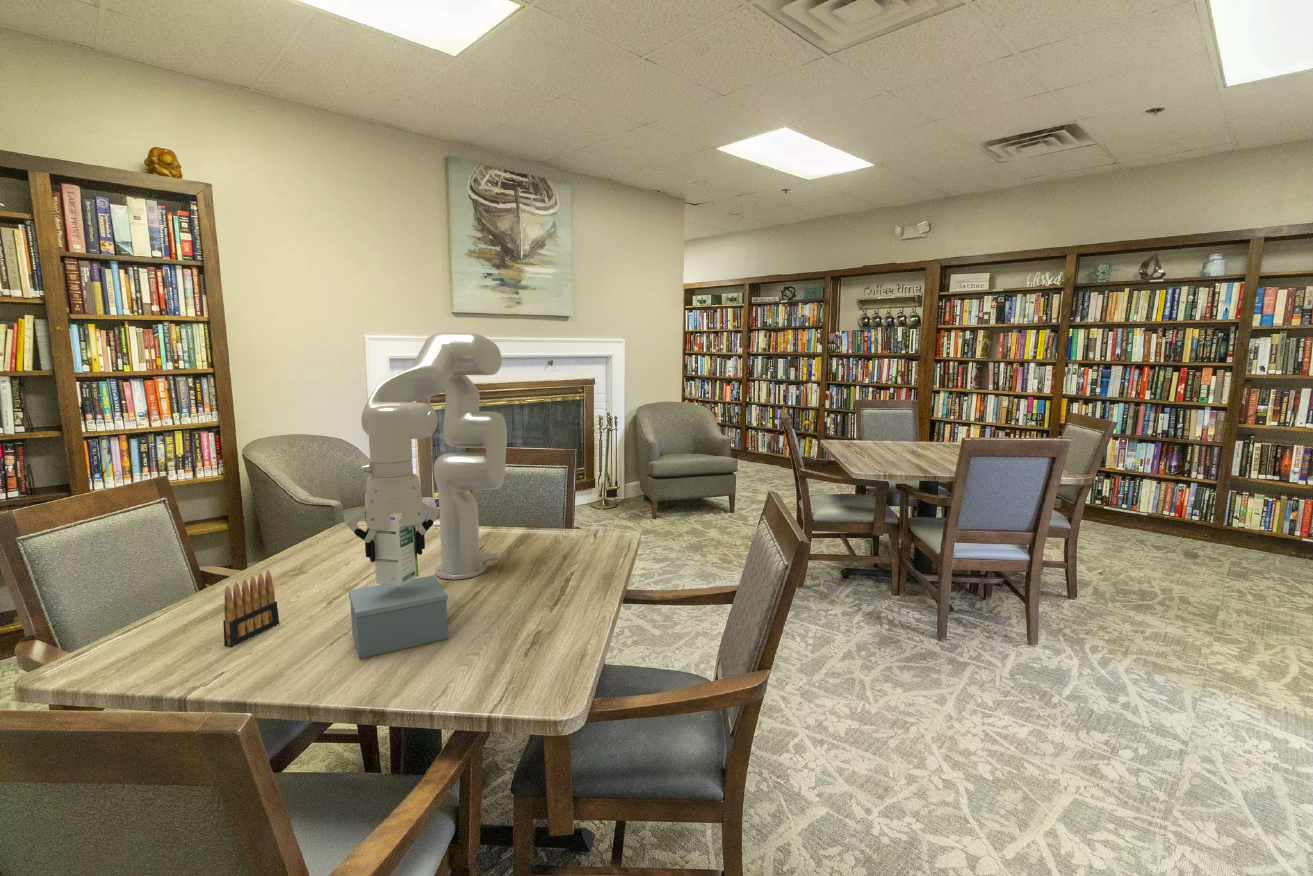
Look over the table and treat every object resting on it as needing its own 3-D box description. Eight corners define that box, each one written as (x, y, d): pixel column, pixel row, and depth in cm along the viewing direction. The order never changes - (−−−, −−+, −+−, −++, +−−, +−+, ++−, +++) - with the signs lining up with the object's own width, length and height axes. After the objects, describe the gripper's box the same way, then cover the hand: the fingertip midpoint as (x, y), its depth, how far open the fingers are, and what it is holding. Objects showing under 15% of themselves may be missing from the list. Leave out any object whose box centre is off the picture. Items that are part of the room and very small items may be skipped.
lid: (433, 579, 128) (433, 575, 128) (447, 599, 118) (447, 594, 118) (348, 595, 119) (348, 590, 119) (355, 618, 109) (355, 612, 109)
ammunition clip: (272, 622, 125) (268, 568, 123) (279, 624, 125) (275, 569, 123) (224, 646, 115) (218, 586, 113) (231, 647, 114) (226, 587, 113)
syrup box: (401, 587, 115) (398, 513, 113) (374, 584, 116) (370, 512, 114) (419, 576, 120) (416, 506, 118) (393, 574, 121) (389, 505, 120)
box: (434, 616, 129) (433, 581, 128) (447, 638, 119) (446, 600, 118) (352, 633, 120) (350, 596, 119) (359, 659, 110) (356, 618, 109)
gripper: (343, 477, 107) (348, 570, 110) (442, 468, 117) (446, 554, 119) (339, 470, 114) (344, 558, 116) (434, 462, 123) (437, 544, 125)
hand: (396, 556), depth 117 cm, fingers closed on syrup box, 8 cm apart
